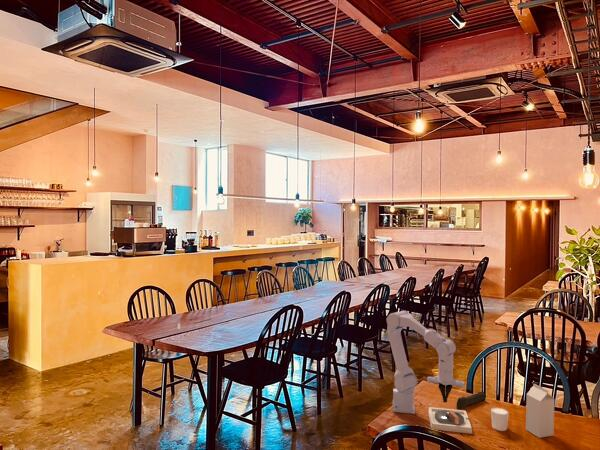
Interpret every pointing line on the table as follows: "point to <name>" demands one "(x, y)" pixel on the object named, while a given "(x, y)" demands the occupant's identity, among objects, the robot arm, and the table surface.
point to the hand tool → (470, 400)
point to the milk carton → (540, 412)
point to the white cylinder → (499, 418)
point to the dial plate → (447, 427)
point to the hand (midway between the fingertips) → (445, 401)
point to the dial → (449, 417)
